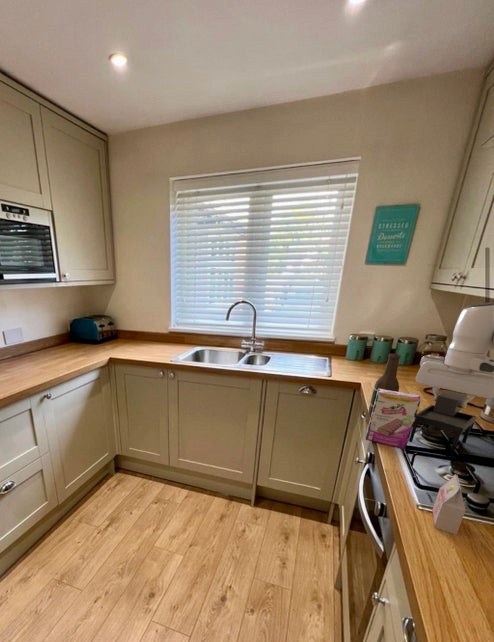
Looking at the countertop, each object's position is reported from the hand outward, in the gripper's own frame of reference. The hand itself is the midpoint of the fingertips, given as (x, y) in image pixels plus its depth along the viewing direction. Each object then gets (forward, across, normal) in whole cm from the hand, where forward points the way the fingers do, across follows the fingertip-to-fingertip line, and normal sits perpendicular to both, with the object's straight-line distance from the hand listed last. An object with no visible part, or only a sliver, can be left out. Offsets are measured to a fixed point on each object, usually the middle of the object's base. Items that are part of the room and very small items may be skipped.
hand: (449, 404), depth 101 cm
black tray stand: (+13, 0, 0) cm, 13 cm away
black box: (+2, 0, 0) cm, 2 cm away
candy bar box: (+13, -10, -14) cm, 22 cm away
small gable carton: (+13, +13, -43) cm, 47 cm away
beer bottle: (+13, -20, +6) cm, 25 cm away
